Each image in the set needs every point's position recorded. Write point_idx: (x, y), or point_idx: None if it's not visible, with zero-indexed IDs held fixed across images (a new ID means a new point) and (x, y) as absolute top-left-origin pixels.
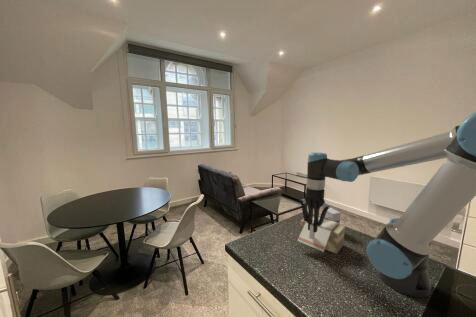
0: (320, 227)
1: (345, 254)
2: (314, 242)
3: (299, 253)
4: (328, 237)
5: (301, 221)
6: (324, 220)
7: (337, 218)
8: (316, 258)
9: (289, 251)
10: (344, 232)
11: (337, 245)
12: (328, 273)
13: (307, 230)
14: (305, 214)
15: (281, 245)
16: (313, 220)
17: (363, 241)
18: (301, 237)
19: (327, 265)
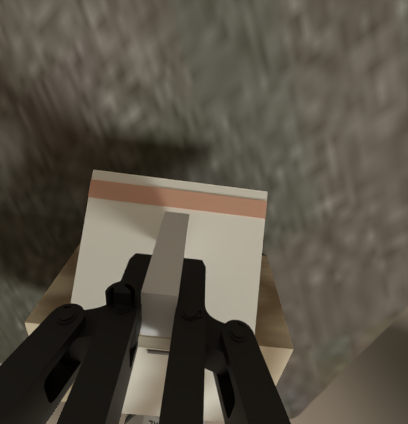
0: (147, 335)
1: (59, 251)
2: (157, 208)
3: (234, 136)
4: (76, 270)
5: (286, 345)
6: (152, 403)
7: None
8: (144, 147)
9: (291, 119)
10: None
11: (66, 264)
12: (43, 52)
13: (223, 282)
14: (249, 421)
15: (348, 149)
16: (211, 380)
17: None
18: (248, 218)
19: (78, 122)
